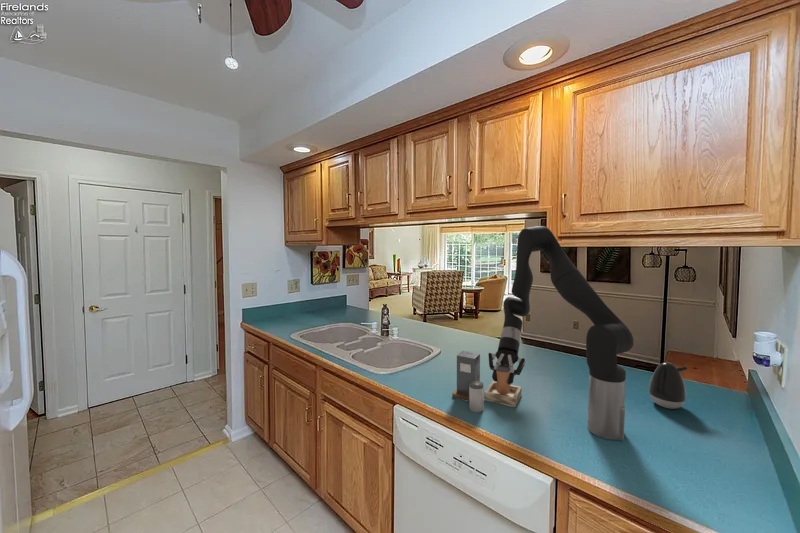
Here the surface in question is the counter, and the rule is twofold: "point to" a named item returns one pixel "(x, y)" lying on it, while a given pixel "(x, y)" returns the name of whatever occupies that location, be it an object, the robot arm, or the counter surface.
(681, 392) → the pump dispenser
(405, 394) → the counter surface
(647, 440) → the counter surface
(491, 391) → the tray
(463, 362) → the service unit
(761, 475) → the counter surface
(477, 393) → the cylinder
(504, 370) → the cylinder
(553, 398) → the counter surface
